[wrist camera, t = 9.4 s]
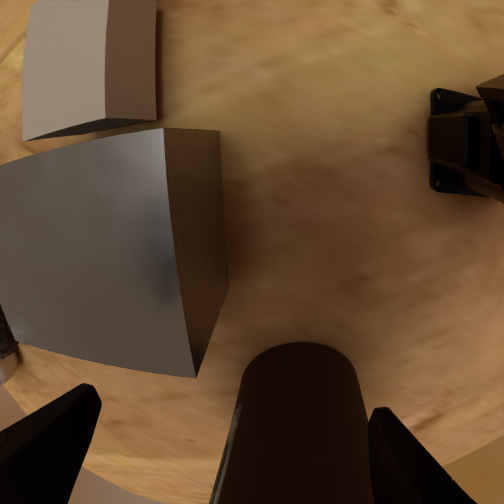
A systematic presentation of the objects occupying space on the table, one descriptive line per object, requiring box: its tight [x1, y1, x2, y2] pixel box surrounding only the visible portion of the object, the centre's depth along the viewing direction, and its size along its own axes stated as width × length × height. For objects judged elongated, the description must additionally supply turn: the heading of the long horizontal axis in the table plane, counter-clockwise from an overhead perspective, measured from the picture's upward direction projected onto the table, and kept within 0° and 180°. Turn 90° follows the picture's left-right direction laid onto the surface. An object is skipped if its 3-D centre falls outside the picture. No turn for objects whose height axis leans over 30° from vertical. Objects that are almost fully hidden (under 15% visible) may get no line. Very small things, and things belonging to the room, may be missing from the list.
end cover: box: [22, 0, 157, 142], centre depth 10 cm, size 6×15×6 cm, turn 2°
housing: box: [0, 128, 229, 378], centre depth 15 cm, size 12×10×8 cm
